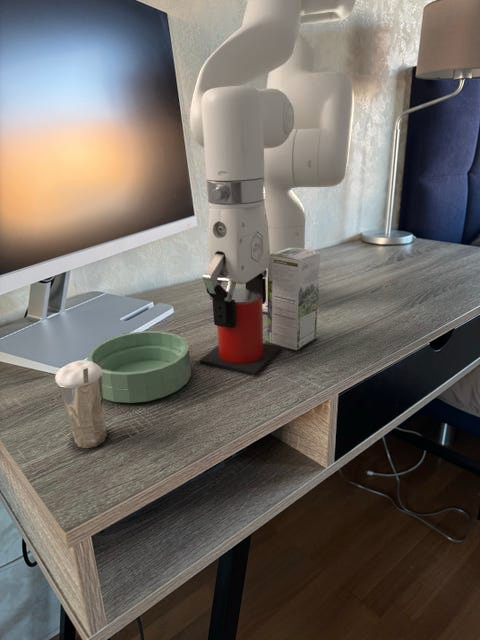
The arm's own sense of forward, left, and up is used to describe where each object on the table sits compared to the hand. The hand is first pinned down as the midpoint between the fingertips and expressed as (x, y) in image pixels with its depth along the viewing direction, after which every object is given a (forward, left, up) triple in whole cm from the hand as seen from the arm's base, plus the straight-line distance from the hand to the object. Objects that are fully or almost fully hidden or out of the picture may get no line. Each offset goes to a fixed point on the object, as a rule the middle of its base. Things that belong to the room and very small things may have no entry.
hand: (241, 313), depth 65 cm
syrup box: (-7, +5, -7) cm, 11 cm away
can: (+1, 0, -6) cm, 6 cm away
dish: (+13, -9, -7) cm, 17 cm away
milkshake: (+26, -5, -7) cm, 27 cm away
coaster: (+1, 0, -7) cm, 7 cm away
